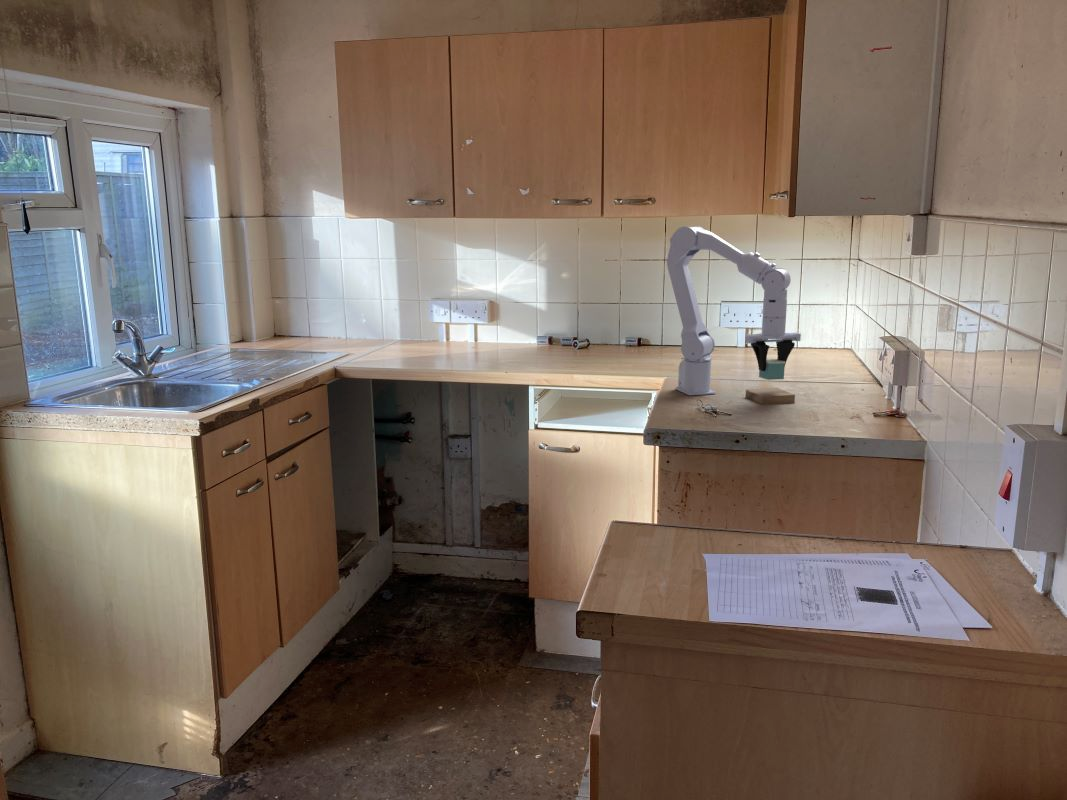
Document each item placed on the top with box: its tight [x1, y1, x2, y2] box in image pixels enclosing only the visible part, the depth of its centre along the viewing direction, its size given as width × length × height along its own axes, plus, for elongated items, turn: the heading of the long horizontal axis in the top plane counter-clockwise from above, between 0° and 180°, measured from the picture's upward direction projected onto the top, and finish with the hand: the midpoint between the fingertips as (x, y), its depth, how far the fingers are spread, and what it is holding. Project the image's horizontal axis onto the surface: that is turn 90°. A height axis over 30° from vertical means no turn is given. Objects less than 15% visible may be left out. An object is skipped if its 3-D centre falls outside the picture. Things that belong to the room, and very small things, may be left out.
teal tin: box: [758, 358, 787, 381], centre depth 212 cm, size 5×5×5 cm
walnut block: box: [745, 387, 796, 405], centre depth 214 cm, size 9×9×2 cm
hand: (771, 369), depth 212 cm, fingers closed on teal tin, 5 cm apart
